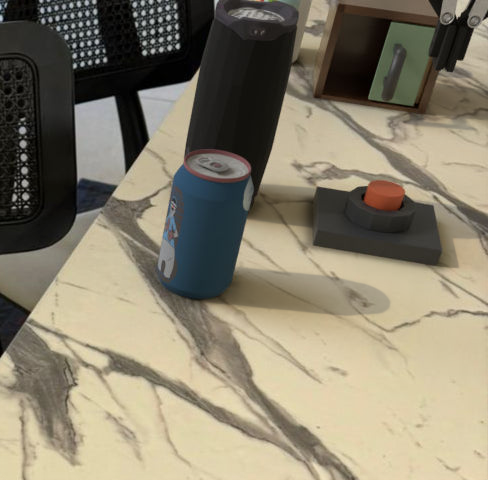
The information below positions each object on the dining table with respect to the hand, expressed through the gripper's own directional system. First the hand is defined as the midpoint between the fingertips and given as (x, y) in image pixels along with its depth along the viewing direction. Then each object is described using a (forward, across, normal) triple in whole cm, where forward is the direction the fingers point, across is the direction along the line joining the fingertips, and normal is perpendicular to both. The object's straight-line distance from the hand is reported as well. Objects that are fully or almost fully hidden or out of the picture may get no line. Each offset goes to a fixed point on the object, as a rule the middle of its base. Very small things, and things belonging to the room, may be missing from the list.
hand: (442, 65), depth 95 cm
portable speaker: (+17, -18, 0) cm, 25 cm away
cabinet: (+17, -1, +38) cm, 42 cm away
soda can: (+17, -19, -18) cm, 31 cm away
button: (+13, -2, -2) cm, 13 cm away
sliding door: (+16, +2, +31) cm, 35 cm away
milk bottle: (+17, -14, +47) cm, 52 cm away
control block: (+17, -2, -2) cm, 17 cm away
